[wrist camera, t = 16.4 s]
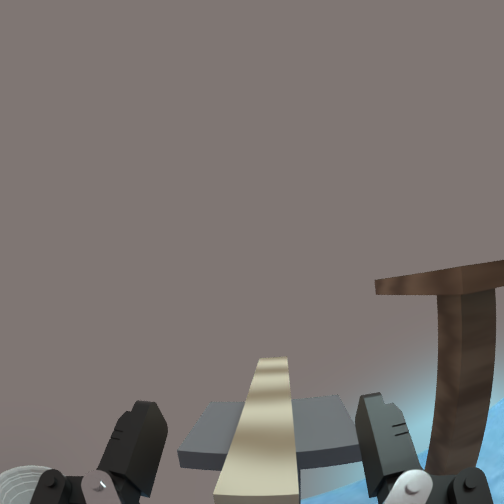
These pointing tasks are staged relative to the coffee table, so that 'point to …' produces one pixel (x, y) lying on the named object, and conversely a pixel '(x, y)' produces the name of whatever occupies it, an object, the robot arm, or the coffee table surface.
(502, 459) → the coffee table surface
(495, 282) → the walnut stand
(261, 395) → the birch block
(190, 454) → the charcoal stand
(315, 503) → the coffee table surface
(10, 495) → the plastic cup
